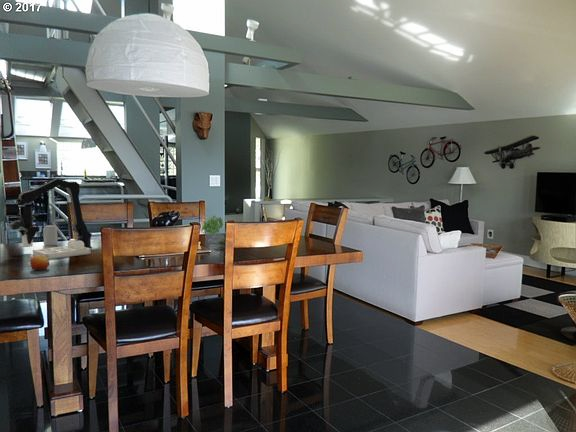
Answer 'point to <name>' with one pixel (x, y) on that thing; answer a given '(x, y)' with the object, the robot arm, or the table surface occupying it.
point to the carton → (64, 250)
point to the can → (50, 235)
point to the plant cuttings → (212, 226)
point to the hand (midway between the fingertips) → (27, 243)
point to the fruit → (39, 263)
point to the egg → (25, 242)
